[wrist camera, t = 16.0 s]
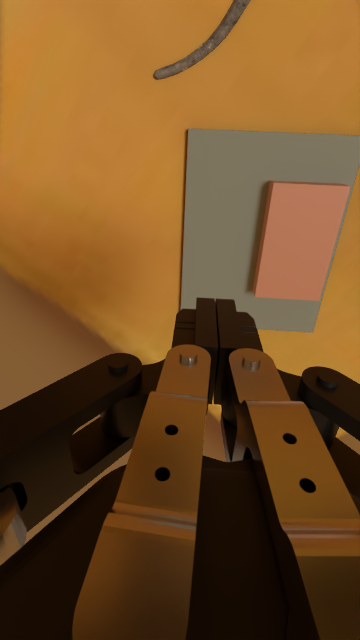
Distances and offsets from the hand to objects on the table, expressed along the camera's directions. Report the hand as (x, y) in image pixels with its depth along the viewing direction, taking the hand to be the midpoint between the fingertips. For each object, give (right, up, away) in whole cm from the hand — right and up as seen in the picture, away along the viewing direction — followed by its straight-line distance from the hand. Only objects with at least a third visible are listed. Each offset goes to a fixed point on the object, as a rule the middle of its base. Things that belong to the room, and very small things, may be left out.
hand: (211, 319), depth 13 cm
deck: (+6, +7, +16) cm, 18 cm away
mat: (+6, +7, +17) cm, 20 cm away
